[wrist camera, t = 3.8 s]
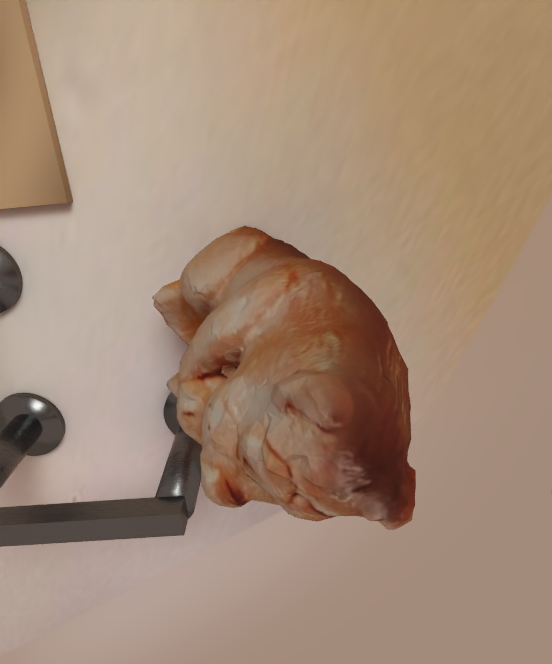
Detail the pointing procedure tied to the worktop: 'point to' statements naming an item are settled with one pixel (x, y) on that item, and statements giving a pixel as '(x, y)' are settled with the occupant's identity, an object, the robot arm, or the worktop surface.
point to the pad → (26, 119)
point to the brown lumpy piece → (290, 383)
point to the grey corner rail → (97, 516)
